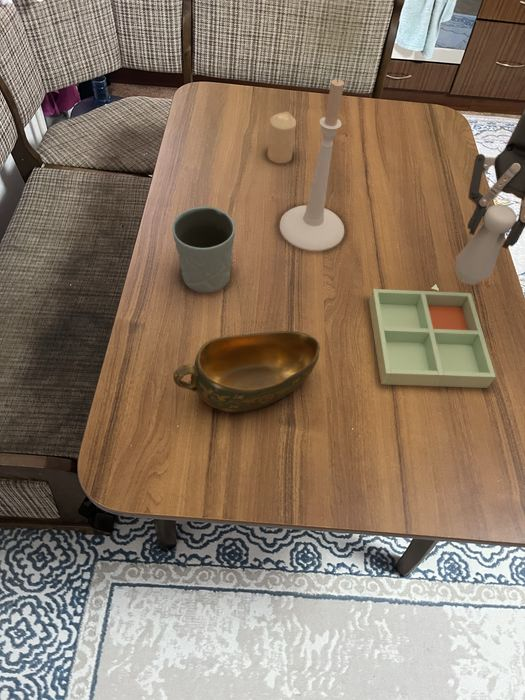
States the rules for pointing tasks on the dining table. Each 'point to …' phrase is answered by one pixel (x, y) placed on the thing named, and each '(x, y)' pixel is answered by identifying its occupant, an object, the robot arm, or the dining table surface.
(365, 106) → the dining table surface
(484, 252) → the salt shaker
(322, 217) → the candlestick
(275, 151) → the candle
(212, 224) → the grey green cup
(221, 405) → the creamer
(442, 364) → the grid
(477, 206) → the robot arm
